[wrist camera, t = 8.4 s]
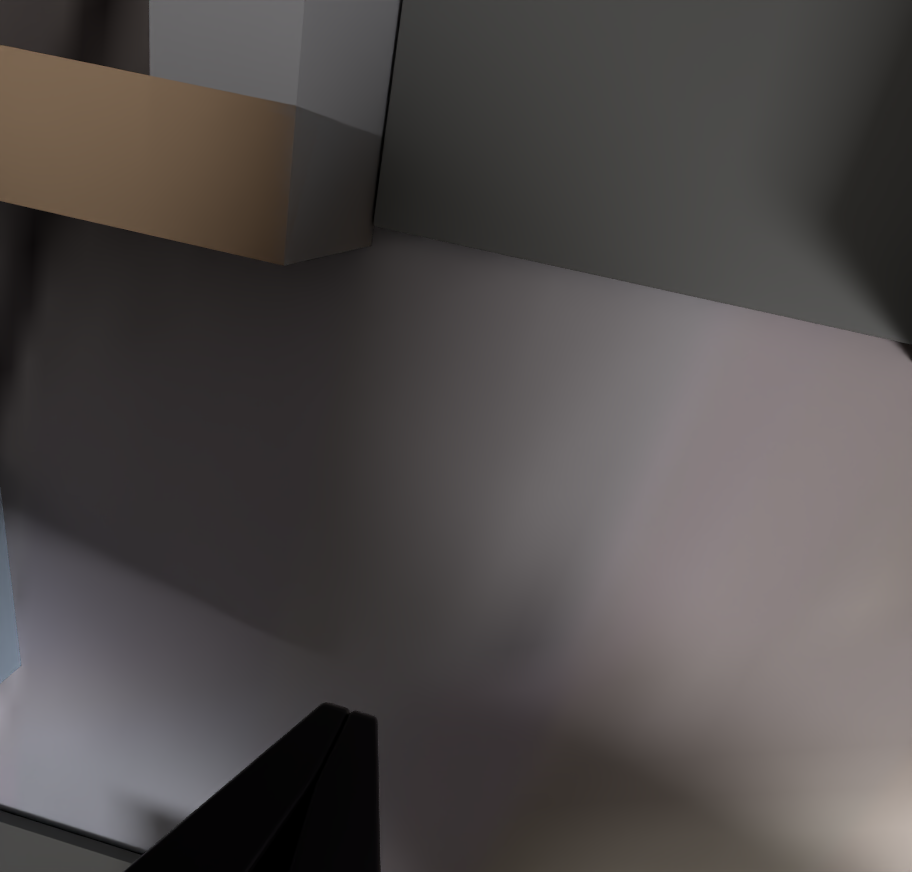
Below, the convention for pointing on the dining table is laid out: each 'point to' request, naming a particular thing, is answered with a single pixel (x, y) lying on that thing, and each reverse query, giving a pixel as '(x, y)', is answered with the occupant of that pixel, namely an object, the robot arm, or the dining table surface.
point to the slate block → (7, 611)
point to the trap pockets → (580, 155)
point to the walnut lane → (151, 155)
